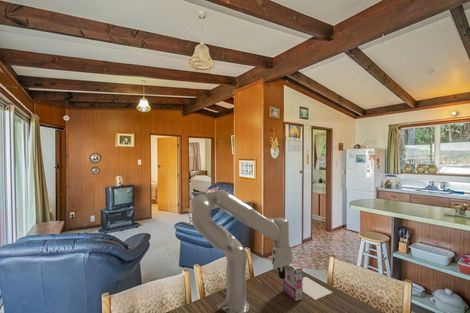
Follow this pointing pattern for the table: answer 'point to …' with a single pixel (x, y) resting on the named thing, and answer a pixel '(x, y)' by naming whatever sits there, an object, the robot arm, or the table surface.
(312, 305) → the table surface
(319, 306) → the table surface
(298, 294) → the candy bar box
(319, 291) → the white mat
